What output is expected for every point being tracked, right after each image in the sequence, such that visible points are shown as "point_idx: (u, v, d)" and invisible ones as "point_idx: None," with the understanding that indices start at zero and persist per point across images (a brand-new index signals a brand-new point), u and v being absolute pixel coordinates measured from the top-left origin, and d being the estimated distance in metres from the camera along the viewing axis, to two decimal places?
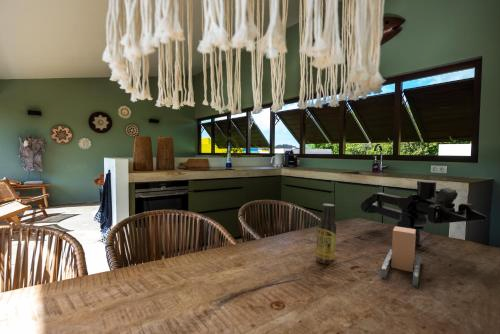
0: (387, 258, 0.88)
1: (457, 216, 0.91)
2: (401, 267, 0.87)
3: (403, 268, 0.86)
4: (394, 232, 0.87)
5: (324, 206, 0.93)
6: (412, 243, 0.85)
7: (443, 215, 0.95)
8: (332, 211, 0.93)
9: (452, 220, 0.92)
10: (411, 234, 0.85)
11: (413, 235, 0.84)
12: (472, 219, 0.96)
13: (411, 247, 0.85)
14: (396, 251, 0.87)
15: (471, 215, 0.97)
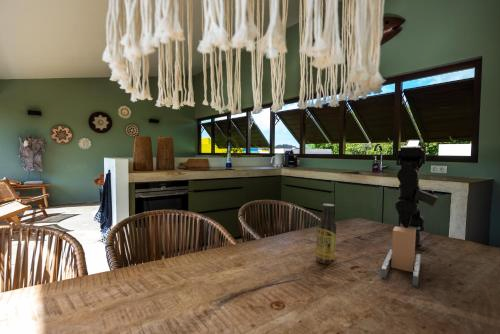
0: (387, 258, 0.88)
1: (408, 223, 0.93)
2: (401, 267, 0.87)
3: (403, 268, 0.86)
4: (394, 232, 0.87)
5: (324, 206, 0.93)
6: (412, 243, 0.85)
7: None
8: (332, 211, 0.93)
9: (402, 218, 0.93)
10: (411, 234, 0.85)
11: (413, 235, 0.84)
12: None
13: (411, 247, 0.85)
14: (396, 251, 0.87)
15: None
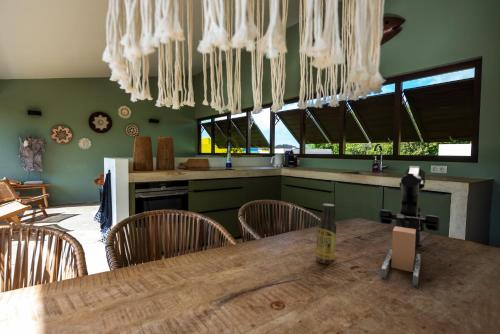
0: (387, 258, 0.88)
1: None
2: (401, 267, 0.87)
3: (403, 268, 0.86)
4: (394, 232, 0.87)
5: (324, 206, 0.93)
6: (412, 243, 0.85)
7: None
8: (332, 211, 0.93)
9: None
10: (411, 234, 0.85)
11: (413, 235, 0.84)
12: (405, 226, 0.98)
13: (411, 247, 0.85)
14: (396, 251, 0.87)
15: None
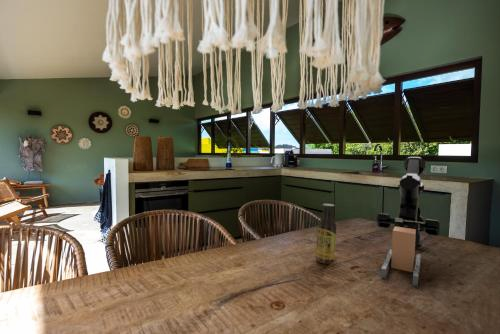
0: (387, 258, 0.88)
1: None
2: (401, 267, 0.86)
3: (403, 268, 0.86)
4: (394, 232, 0.87)
5: (324, 206, 0.93)
6: (412, 243, 0.85)
7: None
8: (332, 211, 0.93)
9: None
10: (411, 234, 0.85)
11: (413, 235, 0.84)
12: None
13: (411, 247, 0.85)
14: (396, 251, 0.87)
15: None
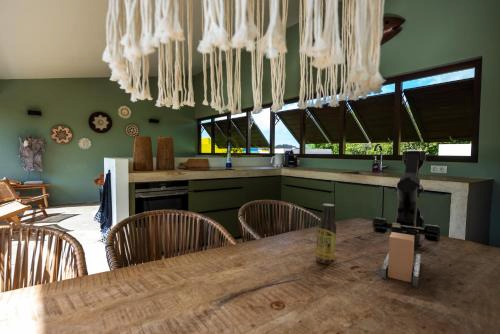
0: (387, 258, 0.88)
1: None
2: (398, 277, 0.80)
3: (400, 278, 0.79)
4: (391, 239, 0.80)
5: (324, 206, 0.93)
6: (410, 251, 0.78)
7: None
8: (332, 211, 0.93)
9: None
10: (409, 241, 0.78)
11: (411, 242, 0.78)
12: None
13: (409, 255, 0.78)
14: (393, 259, 0.80)
15: None
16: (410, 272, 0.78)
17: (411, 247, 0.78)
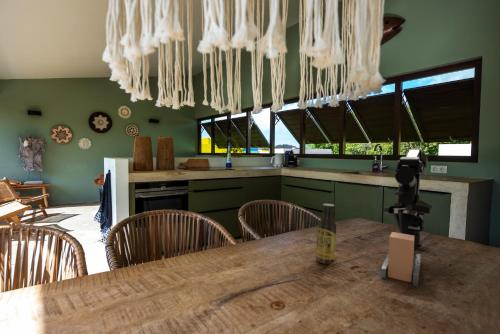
0: (387, 258, 0.88)
1: (406, 228, 0.97)
2: (398, 277, 0.80)
3: (400, 278, 0.79)
4: (391, 239, 0.80)
5: (324, 206, 0.93)
6: (410, 251, 0.78)
7: (407, 215, 0.97)
8: (332, 211, 0.93)
9: (403, 223, 0.97)
10: (409, 241, 0.78)
11: (411, 242, 0.78)
12: None
13: (409, 255, 0.78)
14: (393, 259, 0.80)
15: None
16: (410, 272, 0.78)
17: (411, 247, 0.78)
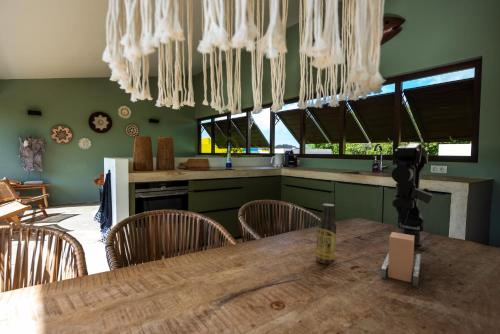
0: (387, 258, 0.88)
1: (405, 218, 1.00)
2: (398, 277, 0.80)
3: (400, 278, 0.79)
4: (391, 239, 0.80)
5: (324, 206, 0.93)
6: (410, 251, 0.78)
7: None
8: (332, 211, 0.93)
9: (400, 214, 1.01)
10: (409, 241, 0.78)
11: (411, 242, 0.78)
12: None
13: (409, 255, 0.78)
14: (393, 259, 0.80)
15: None
16: (410, 272, 0.78)
17: (411, 247, 0.78)
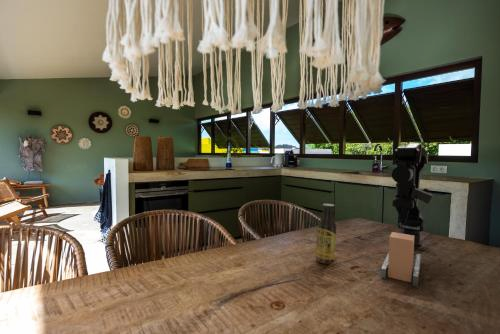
0: (387, 258, 0.88)
1: (405, 218, 1.00)
2: (398, 277, 0.80)
3: (400, 278, 0.79)
4: (391, 239, 0.80)
5: (324, 206, 0.93)
6: (410, 251, 0.78)
7: None
8: (332, 211, 0.93)
9: (400, 214, 1.01)
10: (409, 241, 0.78)
11: (411, 242, 0.78)
12: None
13: (409, 255, 0.78)
14: (393, 259, 0.80)
15: None
16: (410, 272, 0.78)
17: (411, 247, 0.78)
